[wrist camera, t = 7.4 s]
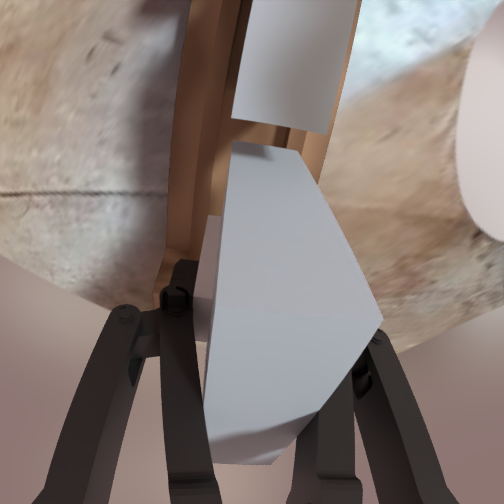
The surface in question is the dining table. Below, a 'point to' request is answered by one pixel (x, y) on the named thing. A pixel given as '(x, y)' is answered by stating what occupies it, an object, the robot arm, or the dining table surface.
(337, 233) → the gray angular faceted block
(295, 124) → the wooden slotted stand
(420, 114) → the dining table surface
